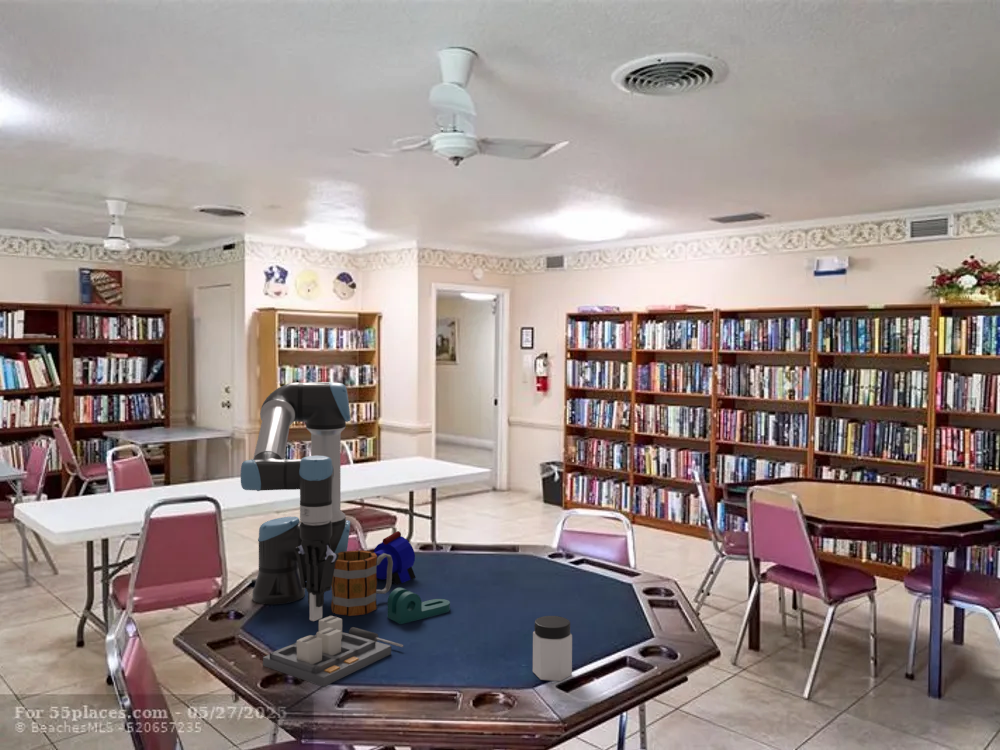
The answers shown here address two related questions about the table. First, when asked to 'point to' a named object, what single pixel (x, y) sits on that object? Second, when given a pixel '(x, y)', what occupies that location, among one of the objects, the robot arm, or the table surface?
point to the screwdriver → (370, 636)
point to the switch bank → (329, 660)
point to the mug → (357, 582)
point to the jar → (552, 648)
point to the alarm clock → (396, 558)
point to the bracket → (413, 606)
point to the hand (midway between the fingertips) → (315, 618)
